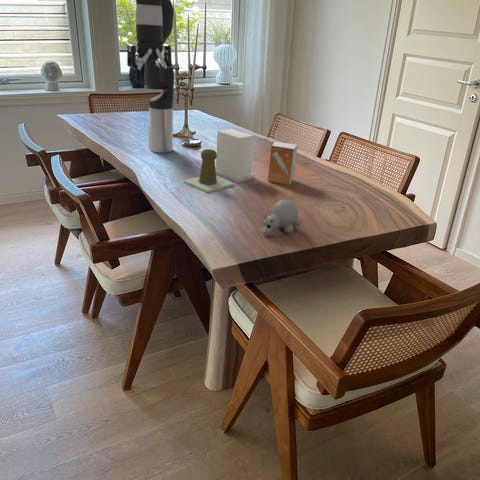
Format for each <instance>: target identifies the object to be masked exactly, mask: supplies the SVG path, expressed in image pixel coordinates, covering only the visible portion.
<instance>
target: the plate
mask: <svg viewBox="0 0 480 480" xmlns="http://www.w3.org/2000/svg"><path fill="white" fill-rule="evenodd" d="M199 178H200V176H197V177H192V178H188V179H185V180H183V183H184V184H186V185H188V186H191V187H193V188H196V189H197V190H199V191H202V192H205V193H207V194H209V193H213V192H216V191H220V190H223V189H226V188H227V189H228V188H229V187H234V186H235V182H234V183H233V181H232V182H231V181H230V180H229V181H228V179H225V178H223V177H222V178H221V177H220V176H218V175H216V179H217V183H216V184H213V185H204V184H201V183H199Z"/></svg>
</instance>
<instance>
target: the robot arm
mask: <svg viewBox="0 0 480 480" xmlns="http://www.w3.org/2000/svg"><path fill="white" fill-rule="evenodd" d="M135 4H136V5H135V34H136V36H135V37H136V38H135V39H136V40H137V44H136V45H134V44H128V45H127V48H126V49H127V50H126V52H127V54H126V55H127V56H126V57H127V59H126V62H127V67H130V68H132V69H133V79H134V80H133V81H135V83H137V84H142V83H143V81H142V79H143V78H144V79H143V80H144V85H145V87H146V88H147V89H148V90H162V91H161V93H159V94H158V95H156V96H154V97H152V98H149V100H148V101H149V102H148V114H149V118H148V119H149V125H148V149H149V150H150V151H151V152H152V153H153V152H154V153H158V154H159V153H160V154H161V153H163V154H166V153H171V152H173V149H174V148H173V147H174V133H173V132H174V111H173V109H174V90H175V89H174V88H175V72H174V71H175V70H174V68H173V66H172V65H173V64H172V62H173V61H172V47H171V45H169V44H165V43H166V42H167V39H169V37H170V35H171V34H172V31H173V29H174V14H175V13H174V10H175V9H174V6H173V3H172V0H135ZM137 53H138V54H137ZM143 65H144V73H143V75H144V76H143V77H142V67H143Z"/></svg>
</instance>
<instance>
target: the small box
mask: <svg viewBox="0 0 480 480" xmlns="http://www.w3.org/2000/svg"><path fill="white" fill-rule="evenodd" d="M270 148H271V149H270V157H269V165H268V166H269V167H268V173H267V174H268V176H267V182H270V183H271V182H272V183H277V184H281V185H282V184H283V185H287V184H288V186H290V185H291V183H292V182H293V181H294V177H295V176H294V175H295V167H296V160H297V159H296V158H297V152H298V144H294V143H289V142H287V143H286V142H280V141H275V142H273V144H272V145H271V147H270Z"/></svg>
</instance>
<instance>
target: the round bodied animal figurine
mask: <svg viewBox="0 0 480 480" xmlns="http://www.w3.org/2000/svg"><path fill="white" fill-rule="evenodd" d="M298 213H299V211H298V208H297V206H296V204H295V202H293V201H291V200H289V199H280V200H278V201H276V202H275V203H273V204H272V206H271V210H270V215H268V216H267V215H266V214H263V218H264V220H263V222H264V227H263V226H262V227H261V231H262V233H263V234H264V235H265V236H267V237H270V236H272V235H273V234H274V233H275V231H277V230H278V229H283V231H284V232H285V233H286V234H291V233H292V232H293V231H294V227H296V228H297V227H299V226H301V224H302V220H301V218H300V217H299V216H298Z"/></svg>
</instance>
